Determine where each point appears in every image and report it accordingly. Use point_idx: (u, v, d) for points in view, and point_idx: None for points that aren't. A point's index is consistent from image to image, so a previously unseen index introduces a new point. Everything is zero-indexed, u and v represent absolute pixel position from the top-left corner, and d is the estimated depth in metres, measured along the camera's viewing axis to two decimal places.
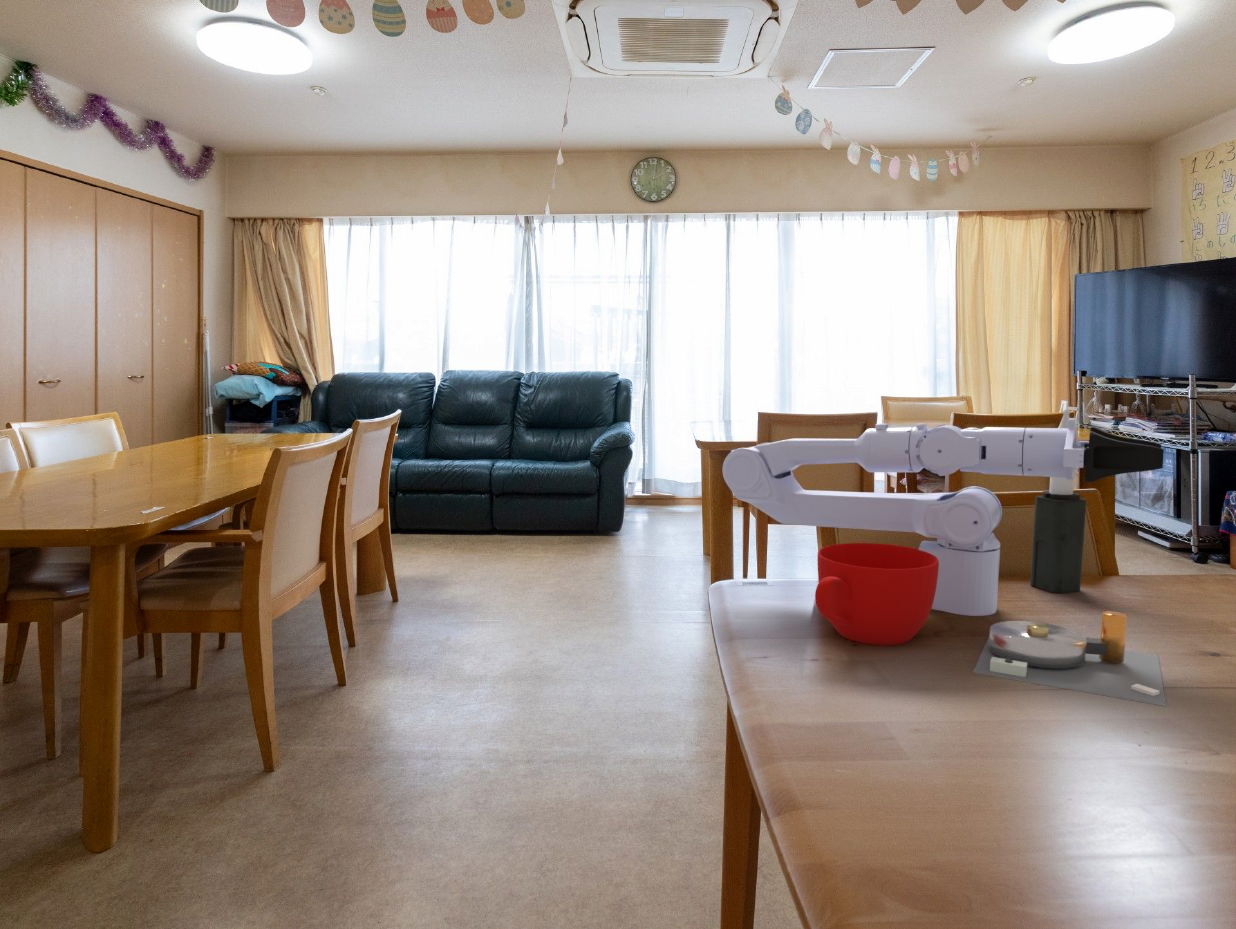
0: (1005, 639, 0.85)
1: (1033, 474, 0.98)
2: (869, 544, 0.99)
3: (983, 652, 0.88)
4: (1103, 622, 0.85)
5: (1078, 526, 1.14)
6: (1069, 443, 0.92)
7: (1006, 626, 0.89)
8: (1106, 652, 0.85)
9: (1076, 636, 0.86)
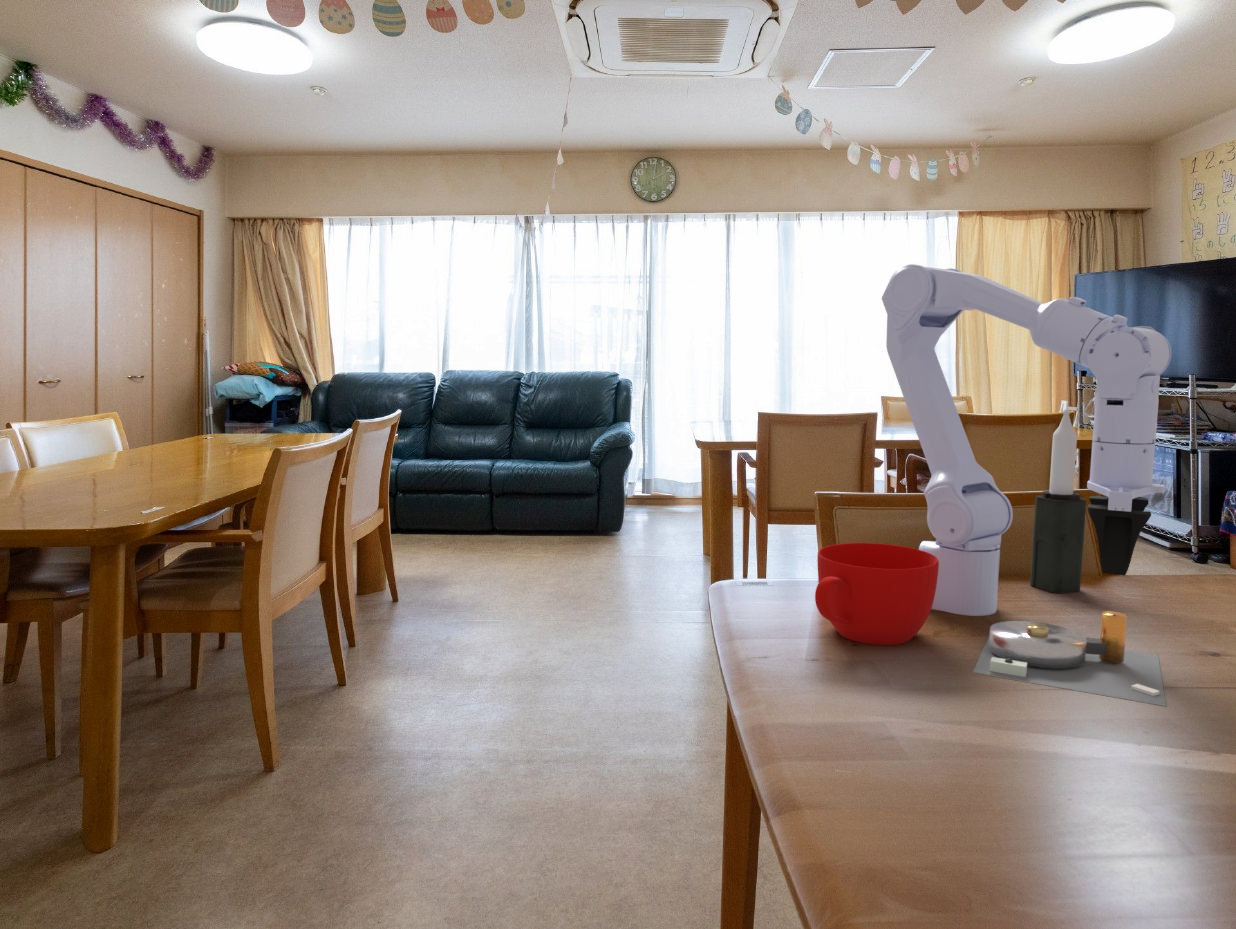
0: (1005, 639, 0.85)
1: (1094, 451, 0.89)
2: (869, 544, 0.99)
3: (983, 652, 0.88)
4: (1103, 622, 0.85)
5: (1078, 526, 1.14)
6: (1136, 494, 0.84)
7: (1006, 626, 0.89)
8: (1106, 652, 0.85)
9: (1076, 636, 0.86)
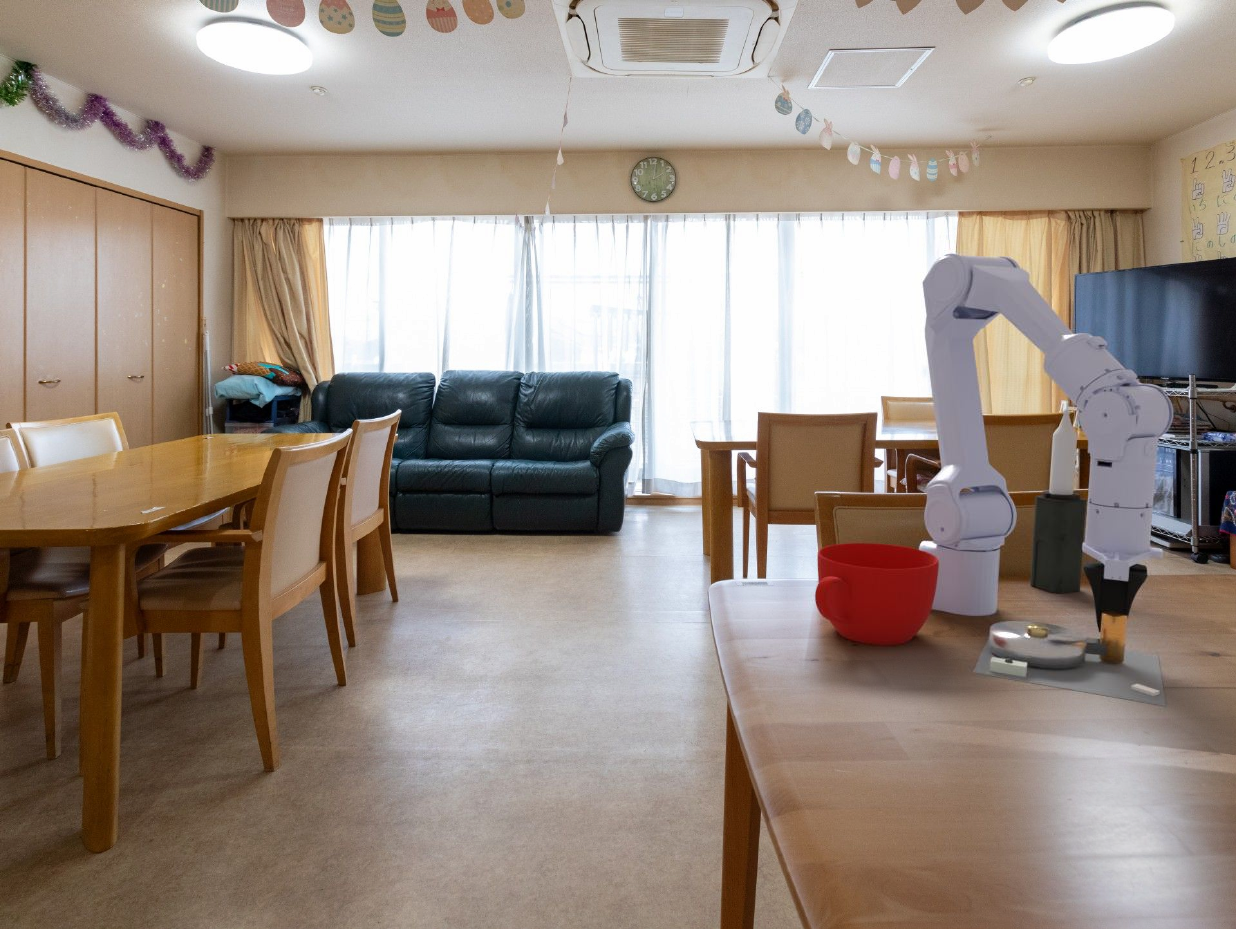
0: (1004, 639, 0.85)
1: (1090, 513, 0.86)
2: (869, 544, 0.99)
3: (983, 652, 0.88)
4: (1103, 622, 0.85)
5: (1078, 526, 1.14)
6: (1134, 561, 0.81)
7: (1006, 626, 0.89)
8: (1106, 652, 0.85)
9: (1076, 636, 0.86)
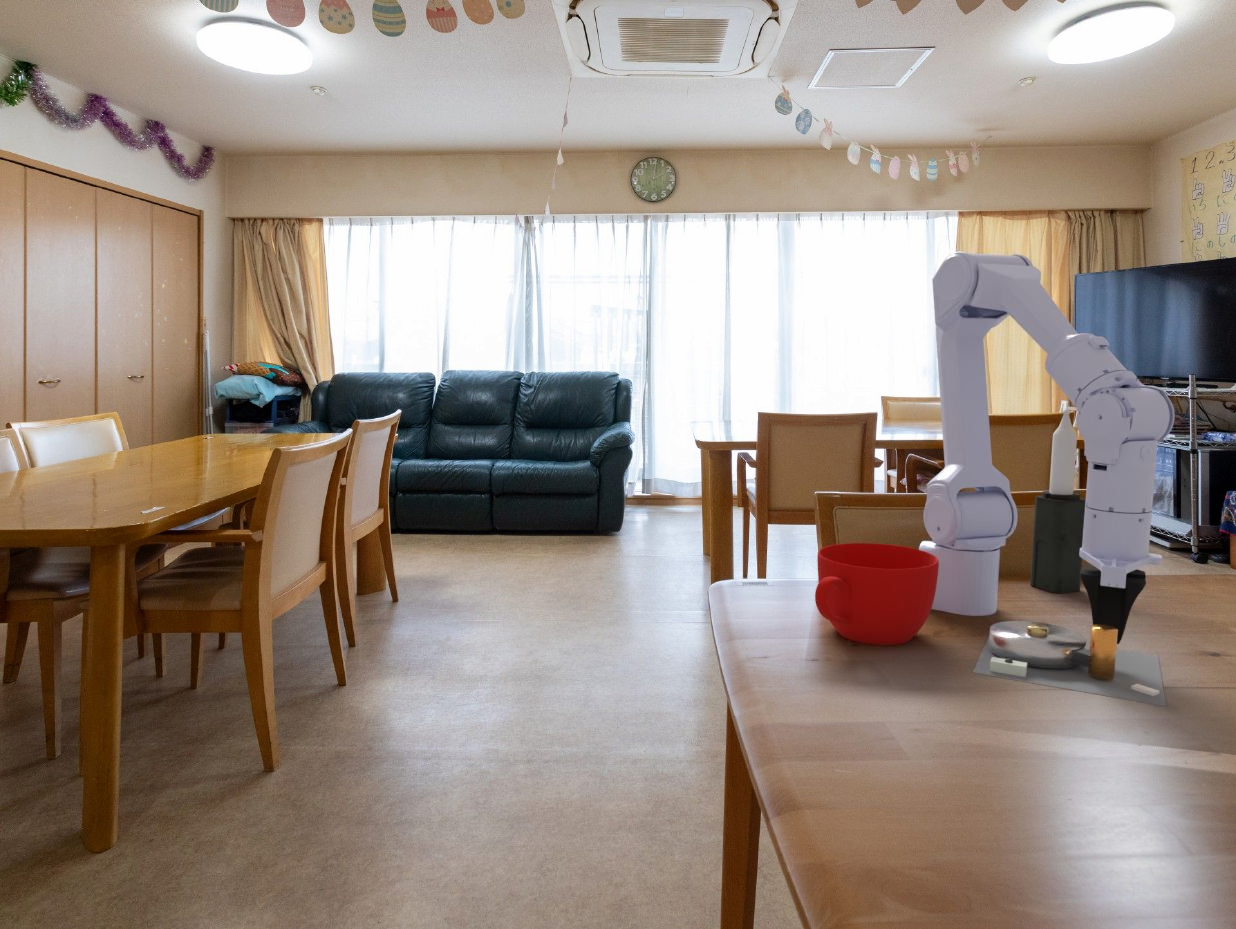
0: (991, 628, 0.89)
1: (1087, 518, 0.84)
2: (869, 544, 0.99)
3: (983, 652, 0.88)
4: None
5: (1078, 526, 1.14)
6: (1131, 568, 0.79)
7: (1025, 624, 0.90)
8: (1089, 664, 0.81)
9: (1072, 644, 0.84)
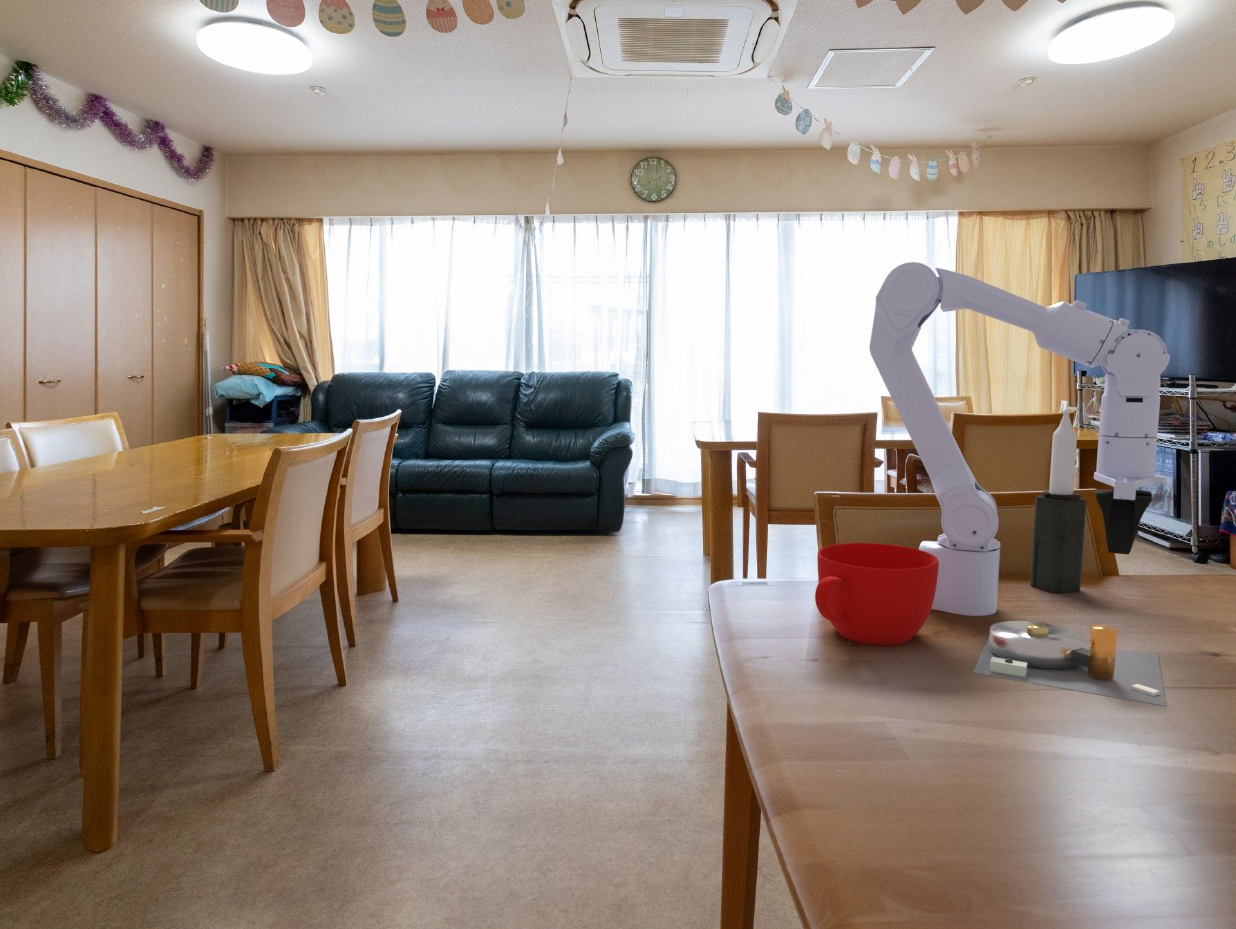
0: (991, 628, 0.89)
1: (1101, 444, 0.96)
2: (869, 544, 0.99)
3: (983, 652, 0.88)
4: None
5: (1078, 526, 1.14)
6: (1140, 484, 0.91)
7: (1026, 624, 0.90)
8: (1088, 664, 0.81)
9: (1072, 644, 0.84)
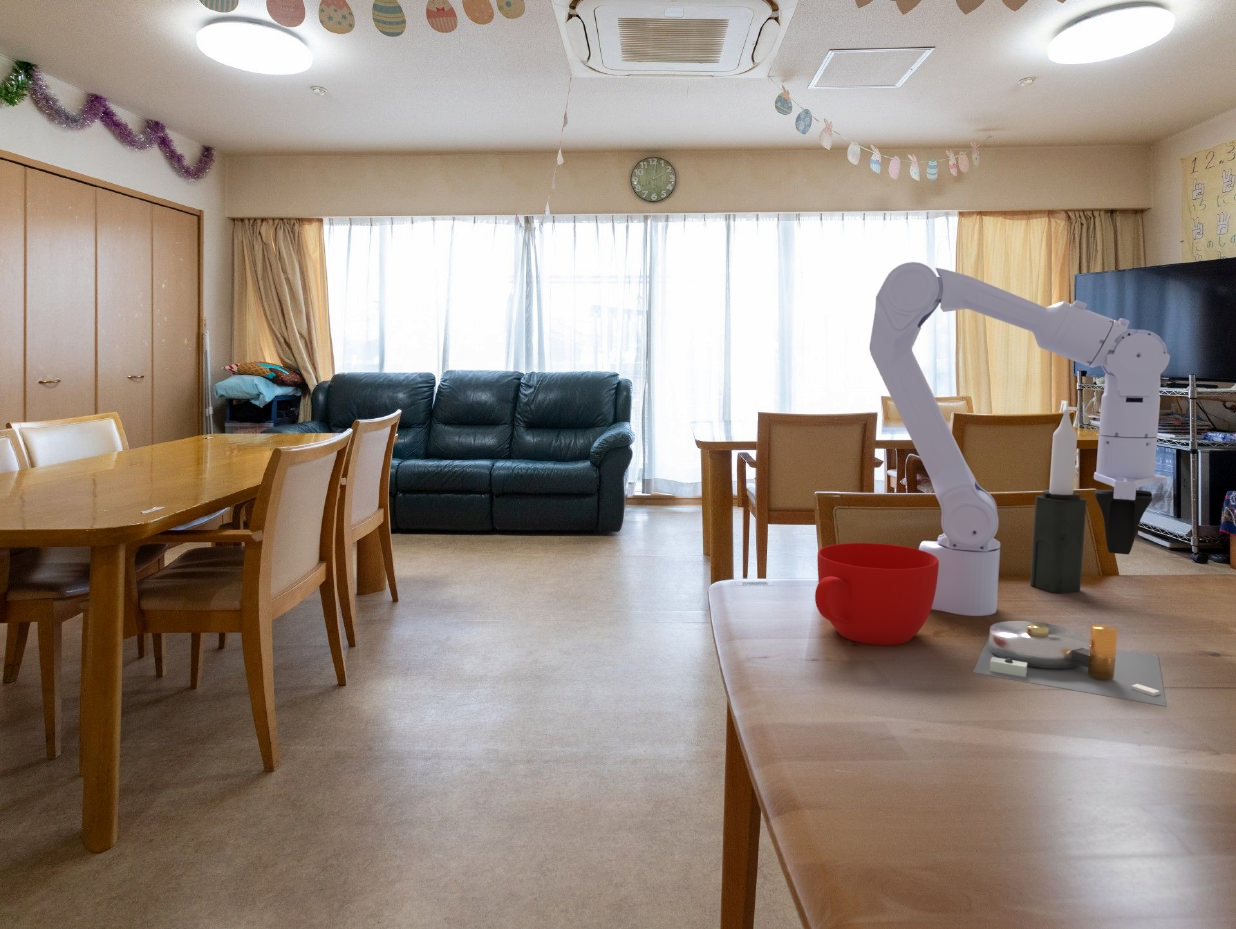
0: (991, 628, 0.89)
1: (1101, 444, 0.96)
2: (869, 544, 0.99)
3: (983, 652, 0.88)
4: None
5: (1078, 526, 1.14)
6: (1140, 484, 0.91)
7: (1026, 624, 0.90)
8: (1088, 664, 0.81)
9: (1072, 644, 0.84)
